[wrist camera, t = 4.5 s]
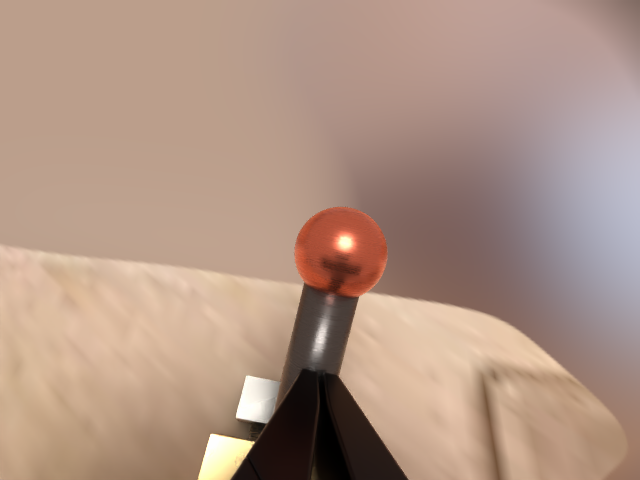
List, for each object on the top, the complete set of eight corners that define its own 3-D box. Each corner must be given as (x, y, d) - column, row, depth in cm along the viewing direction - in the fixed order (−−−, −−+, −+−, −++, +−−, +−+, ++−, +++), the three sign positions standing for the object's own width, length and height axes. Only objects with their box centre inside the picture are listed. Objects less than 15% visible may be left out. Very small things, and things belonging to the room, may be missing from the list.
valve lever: (289, 679, 9) (411, 220, 8) (195, 668, 9) (307, 195, 8) (292, 574, 11) (384, 217, 10) (219, 563, 11) (305, 198, 10)
